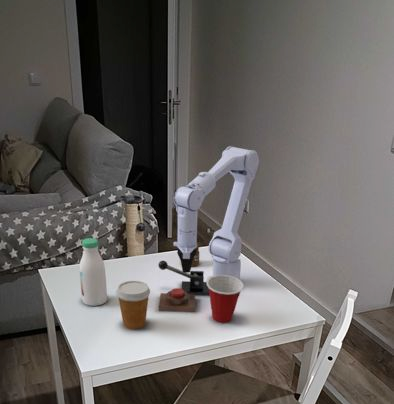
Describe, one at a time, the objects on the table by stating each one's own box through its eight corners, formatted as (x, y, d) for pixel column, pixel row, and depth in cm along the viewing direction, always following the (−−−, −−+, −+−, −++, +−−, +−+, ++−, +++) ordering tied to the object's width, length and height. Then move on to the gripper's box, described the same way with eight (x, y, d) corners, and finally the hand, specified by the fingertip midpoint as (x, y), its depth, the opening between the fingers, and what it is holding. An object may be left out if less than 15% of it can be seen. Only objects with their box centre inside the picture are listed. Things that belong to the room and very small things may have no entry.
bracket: (181, 294, 161) (181, 278, 158) (181, 284, 168) (182, 268, 164) (211, 295, 161) (212, 279, 158) (211, 285, 168) (211, 269, 165)
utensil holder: (181, 265, 181) (182, 234, 175) (185, 259, 186) (186, 229, 180) (197, 267, 180) (198, 236, 174) (200, 261, 185) (202, 230, 179)
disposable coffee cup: (118, 316, 147) (117, 280, 141) (150, 316, 148) (150, 280, 142) (116, 333, 139) (114, 295, 133) (150, 332, 140) (150, 295, 133)
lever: (156, 269, 159) (160, 261, 157) (157, 265, 161) (160, 257, 160) (198, 286, 162) (202, 278, 160) (198, 282, 164) (202, 275, 163)
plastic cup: (215, 331, 142) (218, 293, 136) (198, 314, 150) (199, 278, 144) (247, 323, 146) (251, 286, 140) (229, 307, 154) (231, 272, 148)
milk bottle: (112, 298, 157) (108, 238, 146) (98, 308, 151) (93, 246, 140) (91, 293, 159) (86, 234, 149) (77, 303, 153) (71, 242, 143)
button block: (194, 298, 159) (195, 289, 157) (194, 312, 151) (194, 302, 149) (160, 297, 158) (160, 288, 157) (158, 311, 151) (158, 301, 149)
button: (183, 293, 155) (184, 288, 154) (183, 299, 151) (183, 294, 150) (171, 293, 155) (171, 288, 154) (170, 298, 151) (170, 293, 150)
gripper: (174, 220, 151) (174, 261, 158) (172, 237, 138) (172, 281, 145) (197, 221, 151) (196, 262, 158) (197, 238, 138) (196, 282, 145)
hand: (186, 271), depth 152 cm, fingers closed
